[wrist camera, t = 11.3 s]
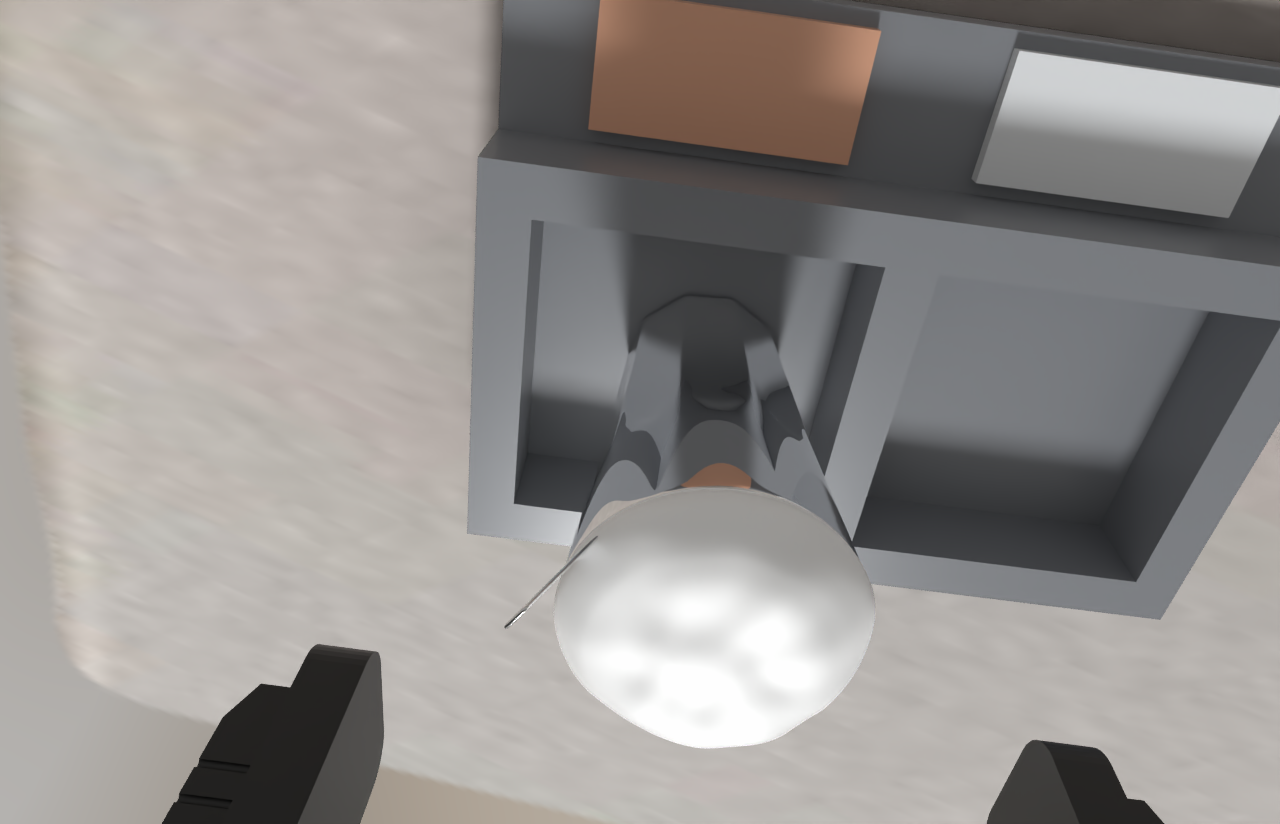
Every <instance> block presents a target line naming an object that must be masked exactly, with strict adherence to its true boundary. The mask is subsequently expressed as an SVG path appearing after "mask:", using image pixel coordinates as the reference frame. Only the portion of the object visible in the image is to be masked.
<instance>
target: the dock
mask: <svg viewBox="0 0 1280 824" xmlns="http://www.w3.org/2000/svg"><path fill="white" fill-rule="evenodd" d="M683 296H699V297H713V298H728V299H734V300H735V301H736V302H737V303H739V304H740V305H741V306H742V307H743V308H745V309H746V310H747V311H748V312H750V313H751V314H752V315H753V316H755V317H756V318H757V319H758V320H760V321H761V322H762V323H763V324H765V325H766V326H767V327H768V328H769V331H770V333H771V336H772V338H773V341H774V344H775V347H776V349H777V352H778V355H779V358H780V360H781V363H782V366H783V369H784V372H785V374H786V377H787V380H788V383H789V385H790V388H791V391H792V394H793V396H794V399H795V402H796V405H797V407H798V410H799V413H800V416H801V418H802V421H803V424H804V427H805V429H806V432H807V435H808V437H809V440H810V443H811V445H812V448H813V450H814V453H815V455H816V458H817V460H818V463H819V465H820V467H821V470H822V472H823V474H824V477H825V479H826V482H827V484H828V486H829V489H830V491H831V493H832V496H833V498H834V500H835V503H836V505H837V507H838V510H839V512H840V514H841V517H842V519H843V522H844V524H845V526H846V529H847V531H848V533H849V536H850V538H851V540H852V543H853V545H854V548H855V550H856V552H857V555H858V557H859V559H860V562H861V563H862V565H863V567H864V569H865V571H866V573H867V575H868V577H869V580H870V583H871V584H877V585H885V586H893V587H901V588H909V589H917V590H925V591H933V592H941V593H949V594H957V595H966V596H974V597H982V598H990V599H998V600H1006V601H1014V602H1022V603H1030V604H1038V605H1046V606H1054V607H1062V608H1070V609H1078V610H1086V611H1094V612H1102V613H1110V614H1119V615H1127V616H1135V617H1143V618H1151V619H1159V620H1160V619H1161V618H1162V616H1163V614H1164V613H1165V611H1166V609H1167V608H1168V606H1169V604H1170V603H1171V601H1172V599H1173V598H1174V596H1175V594H1176V593H1177V591H1178V589H1179V588H1180V586H1181V584H1182V583H1183V581H1184V579H1185V578H1186V576H1187V575H1188V573H1189V571H1190V570H1191V568H1192V566H1193V565H1194V563H1195V561H1196V560H1197V558H1198V556H1199V555H1200V553H1201V551H1202V550H1203V548H1204V546H1205V545H1206V543H1207V541H1208V540H1209V538H1210V536H1211V535H1212V533H1213V531H1214V530H1215V528H1216V526H1217V525H1218V523H1219V521H1220V520H1221V518H1222V516H1223V515H1224V513H1225V511H1226V510H1227V508H1228V506H1229V505H1230V503H1231V501H1232V500H1233V498H1234V496H1235V495H1236V493H1237V491H1238V490H1239V488H1240V486H1241V485H1242V483H1243V481H1244V480H1245V478H1246V477H1247V475H1248V473H1249V472H1250V470H1251V468H1252V467H1253V465H1254V463H1255V462H1256V460H1257V458H1258V457H1259V455H1260V453H1261V452H1262V450H1263V448H1264V447H1265V445H1266V443H1267V442H1268V440H1269V438H1270V437H1271V435H1272V433H1273V432H1274V430H1275V428H1276V427H1277V425H1278V423H1279V422H1280V62H1274V61H1267V60H1260V59H1253V58H1246V57H1239V56H1232V55H1225V54H1219V53H1212V52H1205V51H1198V50H1191V49H1184V48H1177V47H1170V46H1163V45H1156V44H1149V43H1142V42H1135V41H1128V40H1121V39H1114V38H1108V37H1101V36H1094V35H1087V34H1080V33H1073V32H1066V31H1059V30H1052V29H1045V28H1038V27H1031V26H1024V25H1017V24H1010V23H1003V22H997V21H990V20H983V19H976V18H969V17H962V16H955V15H948V14H941V13H934V12H927V11H920V10H913V9H906V8H899V7H892V6H886V5H879V4H872V3H865V2H858V1H851V0H504V4H503V29H502V54H501V79H500V104H499V129H498V130H497V132H496V133H495V134H494V136H493V137H492V138H491V140H490V141H489V142H488V144H487V145H486V147H485V148H484V149H483V151H482V152H481V153H480V155H479V156H478V171H477V206H476V242H475V277H474V312H473V348H472V383H471V419H470V454H469V490H468V525H467V534H474V535H483V536H491V537H499V538H507V539H515V540H523V541H531V542H539V543H547V544H555V545H563V546H571V545H572V542H573V539H574V536H575V533H576V529H577V526H578V523H579V520H580V517H581V514H582V511H583V508H584V505H585V502H586V499H587V496H588V493H589V490H590V487H591V484H592V482H593V479H594V477H595V474H596V471H597V467H598V463H599V460H600V456H601V452H602V449H603V445H604V441H605V438H606V434H607V430H608V427H609V423H610V419H611V415H612V412H613V408H614V404H615V401H616V397H617V393H618V390H619V386H620V382H621V378H622V375H623V371H624V367H625V364H626V360H627V358H628V355H629V353H630V351H631V349H632V346H633V344H634V342H635V339H636V337H637V335H638V333H639V330H640V328H641V326H642V323H643V321H644V319H645V318H646V317H648V316H650V315H651V314H653V313H655V312H657V311H659V310H660V309H662V308H664V307H666V306H668V305H669V304H671V303H673V302H675V301H676V300H678V299H680V298H682V297H683Z"/></svg>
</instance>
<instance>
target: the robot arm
mask: <svg viewBox="0 0 1280 824" xmlns="http://www.w3.org/2000/svg"><path fill="white" fill-rule="evenodd" d="M383 740H384V723H383V701H382V679H381V660H380V655H379V653H378V652H375V651H367V650H359V649H352V648H344V647H336V646H329V645H321V644H317V645H315V646H314V647H313V648H312V649H311V650H310V651H309V653H308V655H307V656H306V658H305V660H304V662H303V664H302V666H301V668H300V670H299V672H298V674H297V676H296V678H295V680H294V681H293V683H292V685H291V687H282V686H275V685H267V684H260V685H259V686H258V687H257V688H256V689H255V690H253V691H252V692H251V693H250V694H249V695H248V696H247V697H245V698H244V699H243V700H242V701H241V702H240V703H239V704H237V705H236V706H235V707H234V708H233V709H232V710H231V711H229V712H228V713H227V714H226V715H225V716H224V717H223V718H222V720H221V722H220V723H219V725H218V727H217V729H216V731H215V732H214V734H213V735H212V737H211V739H210V741H209V742H208V744H207V746H206V748H205V750H204V751H203V753H202V755H201V756H200V758H199V764H198V766H197V767H194V769H193V770H192V772H191V774H190V775H189V777H188V779H187V781H186V783H185V784H184V786H183V788H182V789H181V791H180V793H179V799H178V801H177V802H174V803H173V805H172V807H171V808H170V810H169V812H168V814H167V815H166V817H165V819H164V821H163V822H162V824H360V822H361V819H362V817H363V814H364V811H365V808H366V806H367V803H368V800H369V797H370V794H371V792H372V789H373V786H374V783H375V780H376V777H377V773H378V769H379V765H380V760H381V755H382V748H383ZM987 824H1164V823H1163V822H1162V821H1161V819H1160V818H1159V817H1158V816H1157V815H1156V814H1155V813H1154V812H1153V810H1152V809H1151V808H1150V807H1149V806H1148V805H1147V804H1146V802H1145V801H1142V800H1134V799H1127V797H1126V795H1125V793H1124V791H1123V789H1122V786H1121V784H1120V782H1119V780H1118V778H1117V776H1116V774H1115V772H1114V770H1113V767H1112V765H1111V763H1110V762H1109V760H1108V758H1107V757H1106V756H1105V754H1104V753H1103V752H1101V751H1100V750H1098V749H1097V748H1093V747H1086V746H1078V745H1070V744H1063V743H1055V742H1047V741H1040V740H1032V741H1030V742H1029V743H1028V744H1027V745H1026V746H1025V748H1024V749H1023V751H1022V753H1021V755H1020V757H1019V759H1018V760H1017V762H1016V764H1015V766H1014V768H1013V770H1012V772H1011V774H1010V775H1009V777H1008V779H1007V781H1006V783H1005V785H1004V787H1003V789H1002V791H1001V792H1000V794H999V796H998V798H997V800H996V802H995V804H994V806H993V807H992V809H991V811H990V814H989V817H988V820H987Z"/></svg>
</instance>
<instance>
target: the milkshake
mask: <svg viewBox="0 0 1280 824" xmlns="http://www.w3.org/2000/svg"><path fill="white" fill-rule="evenodd" d="M560 577H561V578H560ZM559 578H560V581H559V583H558V586H557V590H556V595H555V602H554V623H555V630H556V634H557V638H558V641H559V645H560V647H561V650H562V653H563V655H564V657H565V659H566V661H567V663H568V665H569V667H570V669H571V670H572V672H573V674H574V675H575V676H576V678H577V679H578V680H579V682H580V683H581V684H582V685H583V686H584V687H585V688H586V690H587V691H588V692H590V693H591V694H592V695H593V696H594V697H595V698H597V699H598V700H599V701H600V702H602V703H603V704H604V705H606V706H607V707H609V708H610V709H611V710H613V711H614V712H615V713H617V714H618V715H620V716H621V717H623V718H624V719H626V720H628V721H629V722H631V723H633V724H635V725H637V726H638V727H640V728H642V729H644V730H646V731H648V732H650V733H652V734H654V735H656V736H658V737H661V738H663V739H666V740H668V741H671V742H674V743H678V744H681V745H685V746H690V747H696V748H724V747H737V746H749V745H756V744H761V743H765V742H769V741H772V740H775V739H777V738H779V737H781V736H783V735H784V734H786V733H787V732H789V731H790V730H792V729H793V728H795V727H796V726H798V725H799V724H801V723H802V722H804V721H805V720H807V719H809V718H810V717H812V716H814V715H815V714H817V713H819V712H820V711H822V710H823V709H824V708H826V707H827V706H828V705H829V704H830V703H831V702H832V701H833V700H834V699H835V698H836V697H837V696H838V695H839V694H840V693H841V692H842V691H843V689H844V688H845V687H846V686H847V684H848V683H849V682H850V680H851V679H852V677H853V675H854V674H855V672H856V671H857V669H858V667H859V665H860V664H861V662H862V660H863V657H864V655H865V652H866V650H867V647H868V645H869V642H870V639H871V635H872V632H873V628H874V622H875V599H874V593H873V589H872V586H871V583H870V580H869V577H868V575H867V573H866V571H865V569H864V567H863V565H862V563H861V562H860V559H859V557H858V555H857V552H856V550H855V548H854V545H853V543H852V540H851V538H850V536H849V533H848V531H847V529H846V526H845V524H844V522H843V519H842V517H841V514H840V512H839V510H838V507H837V505H836V503H835V500H834V498H833V496H832V493H831V491H830V489H829V486H828V484H827V482H826V479H825V477H824V474H823V472H822V470H821V467H820V465H819V463H818V460H817V458H816V455H815V453H814V450H813V448H812V445H811V443H810V440H809V437H808V435H807V432H806V429H805V427H804V424H803V421H802V418H801V416H800V413H799V410H798V407H797V405H796V402H795V399H794V396H793V394H792V391H791V388H790V385H789V383H788V380H787V377H786V374H785V372H784V369H783V366H782V363H781V360H780V358H779V355H778V352H777V349H776V347H775V344H774V341H773V338H772V336H771V333H770V331H769V328H768V327H767V326H766V325H765V324H763V323H762V322H761V321H760V320H758V319H757V318H756V317H755V316H753V315H752V314H751V313H750V312H748V311H747V310H746V309H745V308H743V307H742V306H741V305H740V304H739V303H737V302H736V301H735V300H734V299H728V298H713V297H699V296H683V297H682V298H680V299H678V300H676V301H675V302H673V303H671V304H669V305H668V306H666V307H664V308H662V309H660V310H659V311H657V312H655V313H653V314H651V315H650V316H648V317H646V318H645V319H644V321H643V323H642V326H641V328H640V330H639V333H638V335H637V337H636V339H635V342H634V344H633V346H632V349H631V351H630V353H629V355H628V358H627V360H626V364H625V367H624V371H623V375H622V378H621V382H620V386H619V390H618V393H617V397H616V401H615V404H614V408H613V412H612V415H611V419H610V423H609V427H608V430H607V434H606V438H605V441H604V445H603V449H602V452H601V456H600V460H599V463H598V467H597V471H596V474H595V477H594V479H593V482H592V484H591V487H590V490H589V493H588V496H587V499H586V502H585V505H584V508H583V511H582V514H581V517H580V520H579V523H578V526H577V529H576V533H575V536H574V539H573V542H572V545H571V548H570V551H569V554H568V557H567V560H566V563H565V566H564V567H563V568H562V569H561V570H560V571H559V572H558V573H557V574H556V575H555V576H554V577H553V578H552V579H551V580H550V581H549V582H548V583H547V584H546V585H545V586H544V587H543V588H542V589H541V590H540V591H539V592H538V593H537V594H536V595H535V596H534V597H533V598H532V599H531V600H530V601H529V602H528V603H527V604H526V605H525V606H524V607H523V608H522V609H521V610H520V611H519V612H518V613H517V614H516V615H514V616H513V617H512V618H511V619H510V620H509V621H508V622H507V623H506V625H505V626H504V628H505V629H507V628H509V627H510V626H511V625H512V624H513V623H514V622H515V621H516V620H517V619H518V618H519V617H520V616H521V615H523V614H524V613H525V612H526V611H527V610H528V609H529V608H530V607H531V606H532V605H533V604H534V603H535V602H536V601H537V600H538V599H539V598H540V597H541V596H542V595H543V594H544V593H545V592H546V591H547V590H548V589H549V588H550V587H551V586H552V585H553V584H554V583H555V582H556V581H557V580H558V579H559Z"/></svg>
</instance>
